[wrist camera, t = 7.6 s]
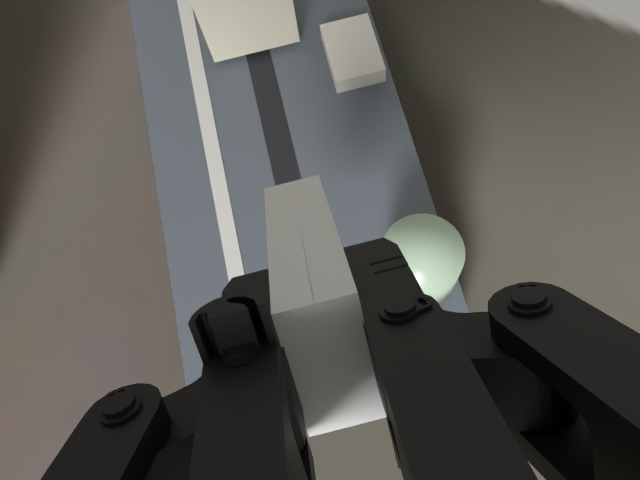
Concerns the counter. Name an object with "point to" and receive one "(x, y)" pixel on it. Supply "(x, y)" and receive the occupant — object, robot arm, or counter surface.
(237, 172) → the switch console
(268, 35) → the cream rectangular block
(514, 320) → the robot arm
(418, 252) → the push button
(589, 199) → the counter surface
